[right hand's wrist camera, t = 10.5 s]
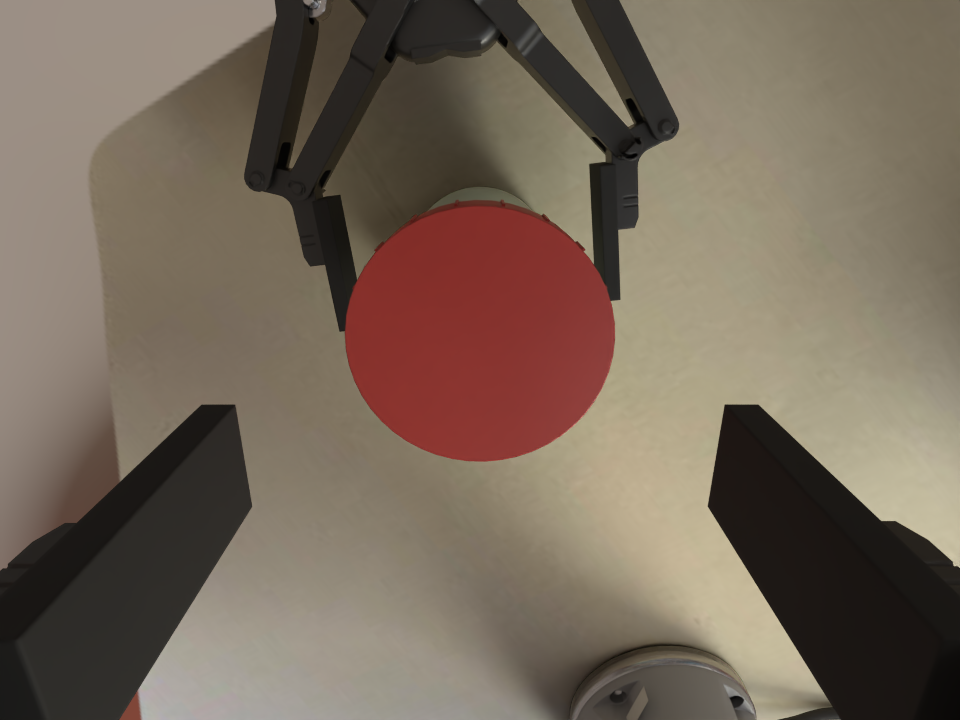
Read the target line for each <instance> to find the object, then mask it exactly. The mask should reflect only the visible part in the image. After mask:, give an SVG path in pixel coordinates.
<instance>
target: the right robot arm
mask: <svg viewBox="0 0 960 720" xmlns="http://www.w3.org/2000/svg"><path fill="white" fill-rule="evenodd" d="M251 507H252V502H251V496H250V490H249V484H248V478H247V472H246V466H245V460H244V454H243V448H242V442H241V436H240V430H239V424H238V419H237V413H236V407H235V405H201V406H200V407H199V408H198V409H197V410H196V411H194V412H193V413H192V414H191V415H190V416H189V417H188V418H187V419H186V420H185V421H184V422H183V423H182V424H181V425H180V426H179V427H178V428H177V429H175V430H174V431H173V432H172V433H171V434H170V435H169V436H168V437H167V438H166V439H165V440H164V441H163V442H162V443H161V444H160V445H159V446H158V447H156V448H155V449H154V450H153V451H152V452H151V453H150V454H149V455H148V456H147V457H146V458H145V459H144V460H143V461H142V462H141V463H140V464H139V465H137V466H136V467H135V468H134V469H133V470H132V471H131V472H130V473H129V474H128V475H127V476H126V477H125V478H124V479H123V480H122V481H121V482H120V483H119V484H117V485H116V486H115V487H114V488H113V489H112V490H111V491H110V492H109V493H108V494H107V495H106V496H105V497H104V498H103V499H102V500H101V501H100V502H98V503H97V504H96V505H95V506H94V507H93V508H92V509H91V510H90V511H89V512H88V513H87V514H86V515H85V516H84V517H83V518H82V519H81V520H79V521H78V522H77V523H64V524H63V525H61V526H59V527H58V528H56V529H54V530H52V531H51V532H49V533H47V534H46V535H44V536H42V537H40V538H39V539H37V540H35V541H33V542H32V543H31V544H30V545H29V546H28V547H26V548H25V549H24V550H23V551H22V552H21V553H20V554H19V555H17V556H16V557H15V558H14V559H13V560H12V561H11V562H10V563H9V564H8V567H7V569H2V570H1V571H0V720H119V719H120V718H121V716H122V714H123V713H124V711H125V710H126V708H127V706H128V705H129V703H130V702H131V700H132V698H133V697H134V695H135V694H136V692H137V690H138V689H139V687H140V686H141V684H142V682H143V681H144V679H145V678H146V676H147V674H148V673H149V671H150V669H151V668H152V666H153V665H154V663H155V661H156V660H157V658H158V657H159V655H160V653H161V652H162V650H163V649H164V647H165V645H166V644H167V642H168V641H169V639H170V637H171V636H172V634H173V633H174V631H175V629H176V628H177V626H178V625H179V623H180V621H181V620H182V618H183V617H184V615H185V613H186V612H187V610H188V609H189V607H190V605H191V604H192V602H193V601H194V599H195V597H196V596H197V594H198V592H199V591H200V589H201V588H202V586H203V584H204V583H205V581H206V580H207V578H208V576H209V575H210V573H211V572H212V570H213V568H214V567H215V565H216V564H217V562H218V560H219V559H220V557H221V556H222V554H223V552H224V551H225V549H226V548H227V546H228V544H229V543H230V541H231V540H232V538H233V536H234V535H235V533H236V532H237V530H238V528H239V527H240V525H241V524H242V522H243V520H244V519H245V517H246V516H247V514H248V512H249V511H250V509H251ZM708 507H709V509H710V511H711V512H712V514H713V516H714V517H715V519H716V520H717V522H718V524H719V525H720V527H721V528H722V530H723V532H724V533H725V535H726V536H727V538H728V540H729V541H730V543H731V544H732V546H733V548H734V549H735V551H736V552H737V554H738V556H739V557H740V559H741V560H742V562H743V564H744V565H745V567H746V568H747V570H748V572H749V573H750V575H751V576H752V578H753V580H754V581H755V583H756V584H757V586H758V588H759V589H760V591H761V592H762V594H763V596H764V597H765V599H766V601H767V602H768V604H769V605H770V607H771V609H772V610H773V612H774V613H775V615H776V617H777V618H778V620H779V621H780V623H781V625H782V626H783V628H784V629H785V631H786V633H787V634H788V636H789V637H790V639H791V641H792V642H793V644H794V645H795V647H796V649H797V650H798V652H799V653H800V655H801V657H802V658H803V660H804V661H805V663H806V665H807V666H808V668H809V669H810V671H811V673H812V674H813V676H814V678H815V679H816V681H817V682H818V684H819V686H820V687H821V689H822V690H823V692H824V694H825V695H826V697H827V698H828V700H829V702H830V703H831V705H832V706H833V707H830V708H821V709H816V710H812V711H809V712H805V713H802V714H799V715H796V716H792V717H788V718H784V719H779V720H960V568H959V567H958V566H953V562H952V561H951V560H950V559H949V558H948V557H947V556H946V555H944V554H943V553H942V552H941V551H940V550H939V549H938V548H937V547H935V546H934V545H933V544H932V543H931V542H930V541H929V540H927V539H926V538H924V537H922V536H920V535H919V534H917V533H915V532H913V531H912V530H910V529H908V528H906V527H905V526H903V525H901V524H899V523H898V522H896V521H881V520H879V519H878V518H877V517H876V516H875V515H874V514H873V513H872V512H871V511H870V510H869V509H868V508H867V507H866V506H865V505H864V504H863V503H862V502H860V501H859V500H858V499H857V498H856V497H855V496H854V495H853V494H852V493H851V492H850V491H849V490H848V489H847V488H846V487H845V486H844V485H843V484H841V483H840V482H839V481H838V480H837V479H836V478H835V477H834V476H833V475H832V474H831V473H830V472H829V471H828V470H827V469H826V468H825V467H824V466H822V465H821V464H820V463H819V462H818V461H817V460H816V459H815V458H814V457H813V456H812V455H811V454H810V453H809V452H808V451H807V450H806V449H805V448H804V447H802V446H801V445H800V444H799V443H798V442H797V441H796V440H795V439H794V438H793V437H792V436H791V435H790V434H789V433H788V432H787V431H786V430H785V429H783V428H782V427H781V426H780V425H779V424H778V423H777V422H776V421H775V420H774V419H773V418H772V417H771V416H770V415H769V414H768V413H767V412H766V411H764V410H763V409H762V408H761V407H760V406H759V405H725V407H724V413H723V418H722V424H721V430H720V436H719V442H718V448H717V454H716V460H715V466H714V472H713V478H712V484H711V490H710V496H709V502H708ZM570 720H757V719H756V711H755V708H754V705H753V703H752V701H751V698H750V696H749V694H748V692H747V690H746V688H745V686H744V684H743V682H742V680H741V678H740V677H739V675H738V674H737V673H736V672H735V671H734V669H733V668H732V667H730V666H729V665H728V664H727V663H726V662H724V661H723V660H721V659H719V658H718V657H716V656H714V655H712V654H710V653H707V652H704V651H701V650H698V649H694V648H689V647H683V646H654V647H647V648H642V649H637V650H634V651H630V652H627V653H625V654H622V655H619V656H617V657H615V658H613V659H611V660H609V661H607V662H606V663H604V664H603V665H601V666H600V667H598V668H597V669H596V670H594V671H593V672H592V673H591V674H590V675H589V676H588V677H587V678H586V679H585V680H584V681H583V682H582V684H581V685H580V686H579V688H578V689H577V691H576V693H575V695H574V697H573V700H572V703H571V707H570Z"/></svg>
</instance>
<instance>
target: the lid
mask: <svg viewBox="0 0 960 720" xmlns="http://www.w3.org/2000/svg"><path fill="white" fill-rule="evenodd" d="M374 251H376V252H375V254H374V255H373V256H372V258H371V259H370V260H369V262H368V263H367V264H366V266H365V267H364V269H363V271H362V272H361V274H360V276H359V278H358V280H357V282H356V284H355V285H354V286H353V288H352V289H353V292H352V295H351V297H350V301H349V305H348V310H347V314H346V325H345V342H346V352H347V357H348V362H349V366H350V369H351V372H352V375H353V378H354V381H355V383H356V385H357V387H358V389H359V391H360V393H361V395H362V396H363V398H364V399H365V401H366V402H367V404H368V405H369V407H370V408H371V410H372V411H373V412H374V413H375V414H376V415H377V416H378V418H379V419H380V420H381V421H382V422H383V423H384V424H385V425H386V426H388V427H389V428H390V429H391V430H392V431H393V432H394V433H396V434H397V435H399V436H400V437H402V438H403V439H405V440H406V441H408V442H409V443H411V444H413V445H415V446H417V447H419V448H421V449H423V450H426V451H428V452H431V453H433V454H436V455H439V456H443V457H447V458H451V459H457V460H464V461H495V460H503V459H508V458H513V457H517V456H520V455H523V454H526V453H529V452H532V451H535V450H537V449H539V448H541V447H543V446H545V445H547V444H549V443H550V442H552V441H554V440H555V439H557V438H559V437H560V436H562V435H563V434H564V433H565V432H567V431H568V430H569V429H570V428H572V427H573V426H574V425H575V424H576V423H577V422H578V421H579V420H580V419H581V418H582V417H583V416H584V415H585V413H586V412H587V411H588V409H589V408H590V407H591V405H592V404H593V403H594V401H595V400H596V398H597V396H598V394H599V393H600V391H601V389H602V387H603V385H604V383H605V380H606V378H607V375H608V373H609V369H610V366H611V362H612V358H613V352H614V343H615V322H614V316H613V309H612V304H611V301H610V298H609V295H608V291H607V286H606V285H605V284H604V282H603V280H602V278H601V276H600V274H599V272H598V271H597V269H596V268H595V266H594V264H593V263H592V261H591V260H590V258H589V257H588V256H587V255H586V254H585V253H584V252H583V251H585V249H584V248H583V247H582V246H581V245H580V244H579V242H578V241H577V242H574V240H573V239H572V238H571V237H570V236H569V235H568V234H566V233H565V232H564V231H563V230H562V229H561V228H559V227H558V226H557V225H556V224H554V223H553V222H551V221H550V220H549V219H548V218H547V216H546V215H544V214H543V215H539V214H537V213H535V212H533V211H531V210H529V209H527V208H523V207H520V206H517V205H514V204H510V203H505V202H504V200H502V199H501V201H500V202H499V201H493V200H470V201H460V202H459V200H456V201H455V203H451V204H447V205H442V206H439V207H437V208H434V209H432V210H429V211H427V212H424V213H422V214H421V215H419V216H417V214H416V215H414V216H413V217H412V218H411V219H410V221H409V222H407V223H406V224H405V225H403V226H402V227H401V228H399V229H398V230H397V231H396V232H395V233H394V234H393V235H392V236H391V237H390V238H389V239H388V240H387V241H386V242H385V243H384V242H382V243H381V244H380V245H379V246H378V247H377V248H376V249H375V250H374Z"/></svg>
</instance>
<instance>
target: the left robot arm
mask: <svg viewBox="0 0 960 720" xmlns="http://www.w3.org/2000/svg"><path fill="white" fill-rule="evenodd" d="M350 1H351V2H352V3H353V5H354V6H355V7H356V8H357V9H358V10H359V11H360V13H361V14H362V15H363V16H364V17H365V18H366V22H365V24H364V26H363V28H362V30H361V31H360V33H359V35H358V37H357V39H356V41H355V43H354V45H353V47H352V50H351V54H350V58H349V61H348V63H347V65H346V67H345V69H344V71H343V73H342V74H341V76H340V78H339V80H338V82H337V84H336V86H335V88H334V90H333V92H332V94H331V96H330V98H329V100H328V101H327V103H326V105H325V107H324V109H323V111H322V113H321V115H320V117H319V119H318V121H317V123H316V125H315V126H314V128H313V130H312V132H311V134H310V136H309V138H308V140H307V142H306V144H305V146H304V148H303V150H302V152H301V153H300V155H299V157H298V159H297V161H296V163H295V165H294V167H293V169H291V168H289V164H290V159H291V155H292V151H293V146H294V142H295V137H296V133H297V129H298V124H299V120H300V116H301V111H302V107H303V102H304V98H305V94H306V89H307V85H308V81H309V76H310V72H311V68H312V63H313V59H314V54H315V50H316V45H317V39H318V29H319V21H323V20H325V19H326V18H327V17H328V16H329V14H330V12H331V6H332V2H333V0H275V6H276V14H277V16H276V21H275V26H274V31H273V36H272V41H271V46H270V51H269V56H268V60H267V65H266V70H265V75H264V80H263V85H262V90H261V95H260V100H259V105H258V110H257V114H256V119H255V124H254V129H253V134H252V139H251V144H250V149H249V154H248V159H247V164H246V168H245V173H244V179H245V182H246V184H247V186H248V187H249V188H250V189H252V190H254V191H258V192H261V191H264V192H268V193H272V194H276V195H280V196H283V197H284V198H286V199H287V200H288V201H289V202H290V204H291V205H292V208H293V211H294V215H295V220H296V224H297V228H298V233H299V236H300V242H301V245H302V250H303V255H304V258H305V259H306V261H307V262H308V264H309V265H310V266H318V265H325V266H326V271H327V275H328V280H329V285H330V289H331V294H332V299H333V303H334V308H335V313H336V317H337V322H338V326H339V331H345V325H346V314H347V310H348V305H349V301H350V297H351V295H352V292H353V289H352V288H353V286H354V285H355V284H356V282H357V277H356V272H355V267H354V262H353V257H352V252H351V247H350V242H349V237H348V232H347V227H346V222H345V217H344V211H343V206H342V201H341V196H340V195H334V196H326V197H323V193H324V192H325V189H324V187H325V185H326V183H327V181H328V180H329V178H330V176H331V174H332V172H333V170H334V169H335V167H336V165H337V163H338V161H339V159H340V157H341V156H342V154H343V152H344V150H345V148H346V146H347V145H348V143H349V141H350V139H351V137H352V135H353V134H354V132H355V130H356V128H357V126H358V124H359V123H360V121H361V119H362V117H363V115H364V113H365V112H366V110H367V108H368V106H369V104H370V102H371V100H372V99H373V97H374V95H375V93H376V91H377V89H378V88H379V86H380V84H381V82H382V81H383V79H384V78H385V77H386V76H387V75H388V73H389V71H390V70H391V68H392V66H393V64H394V62H395V60H396V59H397V57H398V55H399V56H400V57H402V58H403V59H405V60H407V61H411V62H415V63H416V65H417V64H424V63H432V62H434V61H436V60H439V59H441V58H443V57H445V56H448V55H450V56H456V57H462V58H469V57H477V56H481V53H484V52H486V51H487V50H489V49H490V48H491V47H492V46H493V45H494V44H495V43H496V41H497V42H498V43H499V44H500V45H501V46H502V47H503V48H504V49H505V50H506V51H507V52H508V53H509V55H510V56H511V57H512V58H514V59H515V60H516V61H517V62H519V63H520V64H521V65H522V66H523V67H524V69H525V70H526V71H527V72H528V73H529V74H530V75H531V76H532V77H533V78H534V79H535V80H536V81H537V82H538V83H539V85H540V86H541V87H542V88H543V89H544V90H545V91H546V92H547V93H548V94H549V95H550V96H551V97H552V98H553V99H554V101H555V102H556V103H557V104H558V105H559V106H560V107H561V108H562V109H563V110H564V111H565V112H566V113H567V114H568V115H569V117H570V118H571V119H572V120H573V121H574V122H575V123H576V124H577V125H578V126H579V127H580V128H581V129H582V130H583V131H584V132H585V134H586V135H587V136H588V137H589V138H590V139H591V140H592V141H593V142H594V143H595V144H596V145H597V146H598V147H599V148H600V150H601V151H602V152H603V153H604V154H605V155H606V162H601V163H593V164H589V167H590V188H591V209H592V229H593V250H594V266H595V268H596V269H597V271H598V272H599V274H600V276H601V278H602V280H603V282H604V284H605V285H606V286H607V291H608V295H609V298H610V301H613V300H620V274H619V243H618V230H620V229H628V228H635V225H636V222H637V220H638V168H637V167H638V161H639V158H640V157H641V155H642V154H643V153H644V152H645V151H646V150H648V149H650V148H652V147H654V146H656V145H658V144H659V143H661V142H663V141H668V140H670V139H672V138H673V137H674V136H675V135H676V134H677V132H678V129H679V122H678V119H677V117H676V115H675V113H674V111H673V109H672V107H671V105H670V103H669V101H668V99H667V96H666V94H665V92H664V90H663V88H662V86H661V84H660V82H659V80H658V78H657V76H656V74H655V72H654V70H653V68H652V66H651V64H650V62H649V60H648V58H647V56H646V54H645V52H644V50H643V48H642V46H641V44H640V42H639V40H638V38H637V36H636V34H635V32H634V30H633V27H632V25H631V23H630V21H629V19H628V17H627V15H626V13H625V11H624V9H623V7H622V5H621V3H620V1H619V0H571V1H572V3H573V6H574V8H575V10H576V12H577V14H578V16H579V18H580V20H581V22H582V24H583V26H584V28H585V30H586V31H587V33H588V35H589V37H590V39H591V41H592V43H593V45H594V47H595V49H596V51H597V53H598V55H599V57H600V58H601V60H602V62H603V64H604V66H605V68H606V70H607V72H608V74H609V76H610V78H611V80H612V82H613V84H614V85H615V87H616V89H617V91H618V93H619V95H620V97H621V99H622V101H623V103H624V105H625V107H626V109H627V111H628V112H629V114H630V116H631V118H632V120H633V122H634V124H633V125H631V126H629V127H627V126H626V125H625V124H624V122H623V121H622V120H621V119H620V118H619V117H618V116H617V115H616V114H615V113H614V111H613V110H612V109H611V108H610V107H609V106H608V105H607V104H606V103H605V102H604V100H603V99H602V98H601V97H600V96H599V95H598V94H597V93H596V92H595V91H594V89H593V88H592V87H591V86H590V85H589V84H588V83H587V82H586V81H585V80H584V79H583V77H582V76H581V75H580V74H579V73H578V72H577V71H576V70H575V69H574V68H573V66H572V65H571V64H570V63H569V62H568V61H567V60H566V59H565V58H564V57H563V55H562V54H561V53H560V52H559V51H558V50H557V49H556V48H555V47H554V46H553V44H552V43H551V42H550V41H549V40H548V39H547V38H546V37H545V36H544V34H543V33H542V32H541V30H540V28H539V27H538V25H537V24H536V23H535V21H534V20H533V19H532V18H531V17H530V16H529V15H528V14H527V12H526V11H525V10H524V9H523V8H522V7H521V6H520V5H519V4H518V3H517V0H350Z"/></svg>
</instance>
